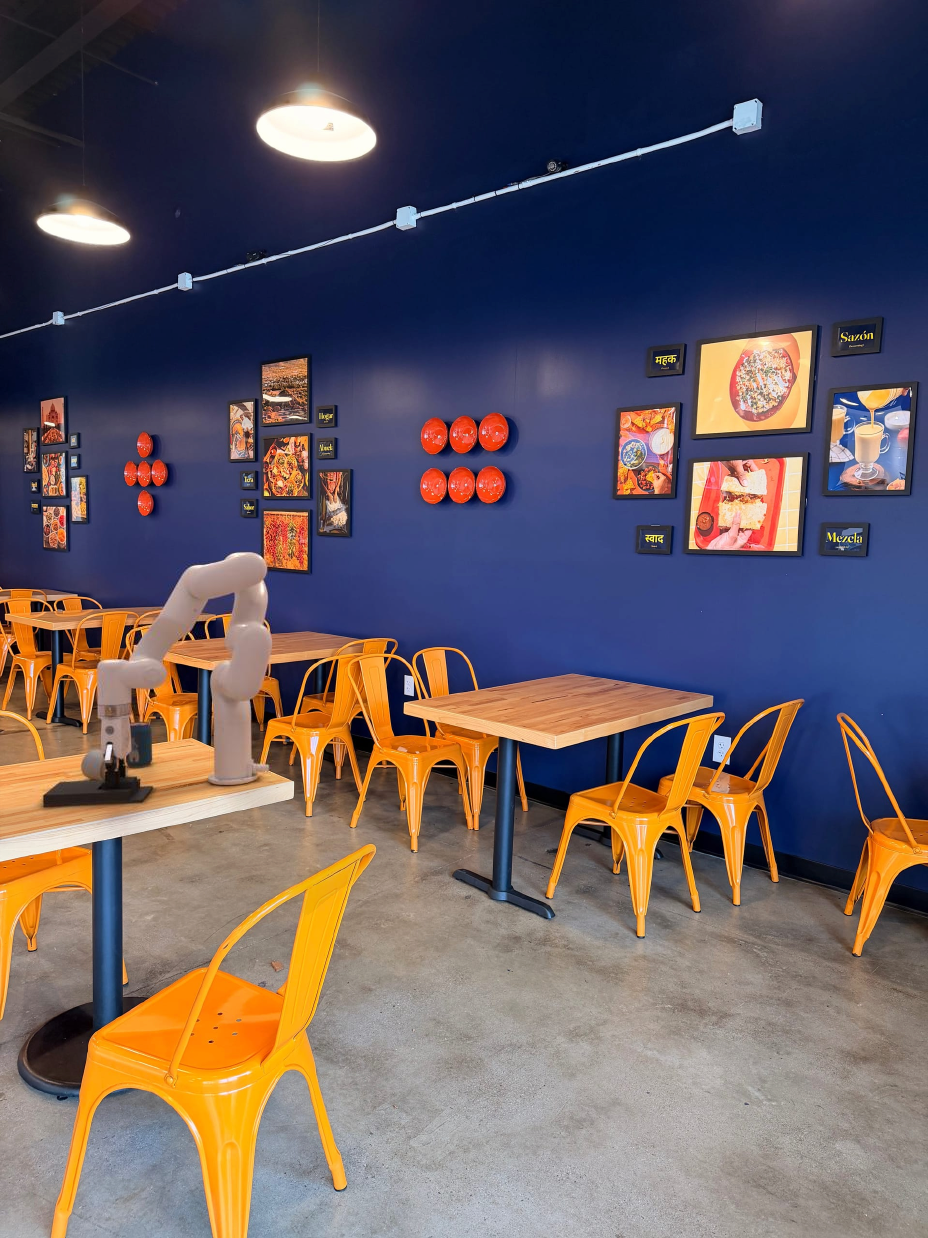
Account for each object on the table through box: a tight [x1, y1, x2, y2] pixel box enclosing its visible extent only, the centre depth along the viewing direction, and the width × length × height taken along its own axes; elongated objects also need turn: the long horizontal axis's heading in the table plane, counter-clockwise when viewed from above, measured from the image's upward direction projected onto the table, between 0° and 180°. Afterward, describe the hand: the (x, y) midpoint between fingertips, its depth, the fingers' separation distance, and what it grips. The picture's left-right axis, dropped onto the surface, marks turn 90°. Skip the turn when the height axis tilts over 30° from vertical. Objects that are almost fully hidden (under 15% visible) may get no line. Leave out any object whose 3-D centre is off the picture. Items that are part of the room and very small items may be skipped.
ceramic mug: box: [80, 749, 129, 780], centre depth 211 cm, size 11×8×8 cm
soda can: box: [125, 721, 153, 769], centre depth 225 cm, size 7×7×12 cm
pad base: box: [42, 778, 154, 808], centre depth 194 cm, size 22×12×3 cm, turn 100°
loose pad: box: [102, 775, 138, 796], centre depth 195 cm, size 7×5×4 cm
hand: (115, 783), depth 194 cm, fingers closed on loose pad, 5 cm apart
